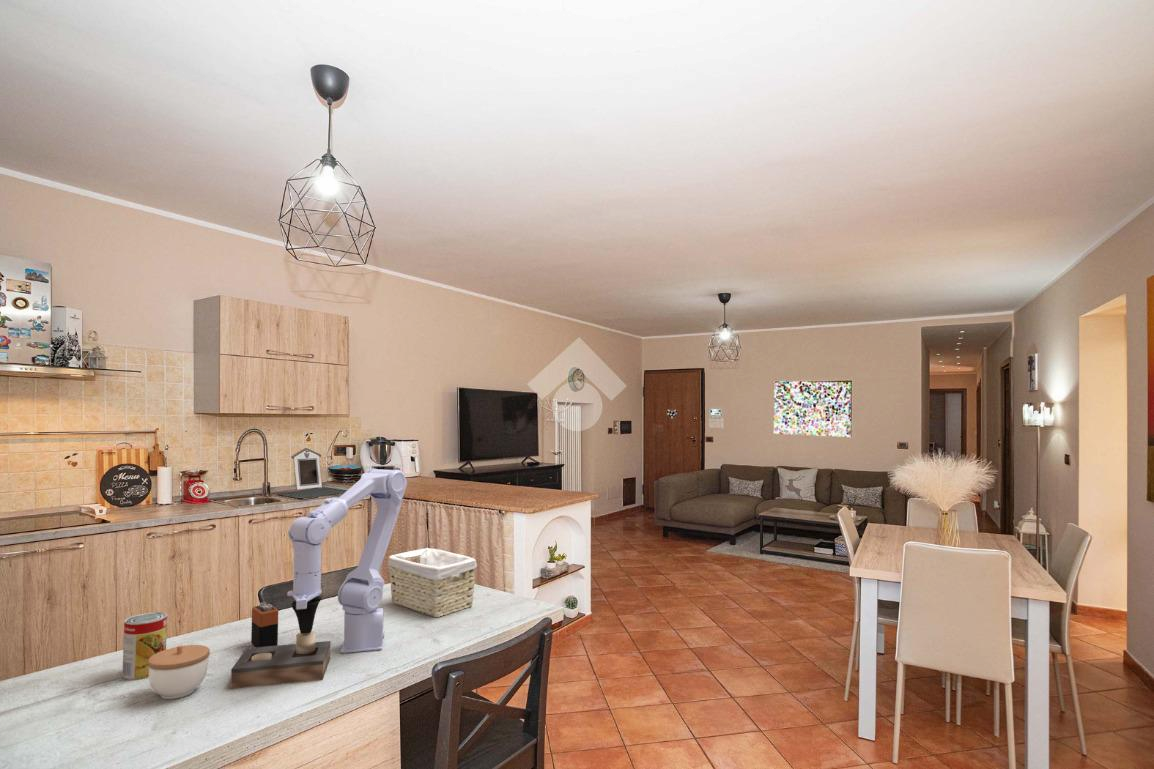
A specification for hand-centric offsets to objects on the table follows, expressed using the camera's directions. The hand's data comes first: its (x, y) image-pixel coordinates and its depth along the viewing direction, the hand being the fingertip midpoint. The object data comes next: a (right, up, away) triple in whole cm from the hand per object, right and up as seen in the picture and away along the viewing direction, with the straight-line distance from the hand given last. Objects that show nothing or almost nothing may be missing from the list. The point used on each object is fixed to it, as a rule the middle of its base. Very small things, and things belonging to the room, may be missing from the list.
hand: (306, 632), depth 138 cm
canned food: (-35, -9, -2) cm, 36 cm away
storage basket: (+17, -11, +46) cm, 51 cm away
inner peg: (0, -4, 0) cm, 4 cm away
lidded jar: (-21, -8, -11) cm, 26 cm away
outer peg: (-9, -8, -3) cm, 12 cm away
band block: (-4, -8, -2) cm, 10 cm away
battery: (-17, -9, +15) cm, 24 cm away
